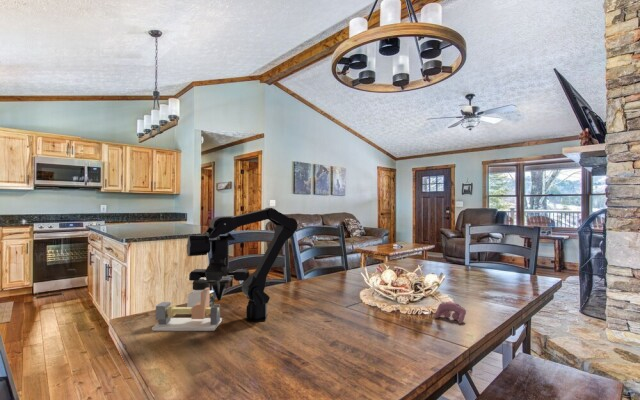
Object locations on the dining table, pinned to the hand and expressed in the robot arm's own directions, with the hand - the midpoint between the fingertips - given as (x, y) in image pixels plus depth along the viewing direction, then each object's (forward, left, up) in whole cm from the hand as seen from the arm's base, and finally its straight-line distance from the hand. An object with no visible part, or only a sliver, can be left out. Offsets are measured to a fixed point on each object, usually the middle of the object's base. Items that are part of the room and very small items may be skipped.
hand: (219, 300), depth 112 cm
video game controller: (-81, -6, -9) cm, 82 cm away
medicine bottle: (+11, -15, -9) cm, 21 cm away
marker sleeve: (+6, 0, -5) cm, 8 cm away
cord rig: (+10, 0, -8) cm, 13 cm away
